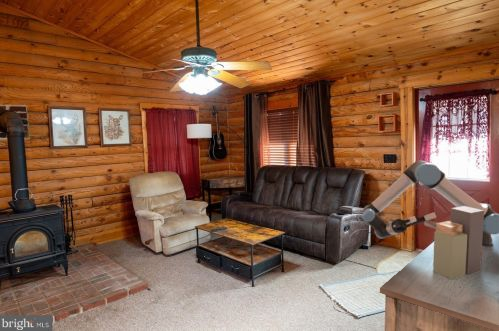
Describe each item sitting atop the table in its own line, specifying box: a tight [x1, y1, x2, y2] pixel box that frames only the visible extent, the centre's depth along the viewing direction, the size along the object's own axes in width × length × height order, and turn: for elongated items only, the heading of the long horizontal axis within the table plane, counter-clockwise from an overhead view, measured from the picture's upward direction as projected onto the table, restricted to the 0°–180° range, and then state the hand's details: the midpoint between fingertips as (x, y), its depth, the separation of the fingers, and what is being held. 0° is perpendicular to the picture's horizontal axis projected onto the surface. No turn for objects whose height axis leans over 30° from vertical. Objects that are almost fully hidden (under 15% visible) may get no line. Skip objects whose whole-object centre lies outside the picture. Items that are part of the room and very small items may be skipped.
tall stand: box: [450, 206, 484, 276], centre depth 154 cm, size 9×10×30 cm
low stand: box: [432, 230, 467, 280], centre depth 151 cm, size 9×10×20 cm
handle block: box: [423, 220, 463, 236], centre depth 155 cm, size 8×16×4 cm, turn 20°
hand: (425, 216), depth 162 cm, fingers open, 13 cm apart
